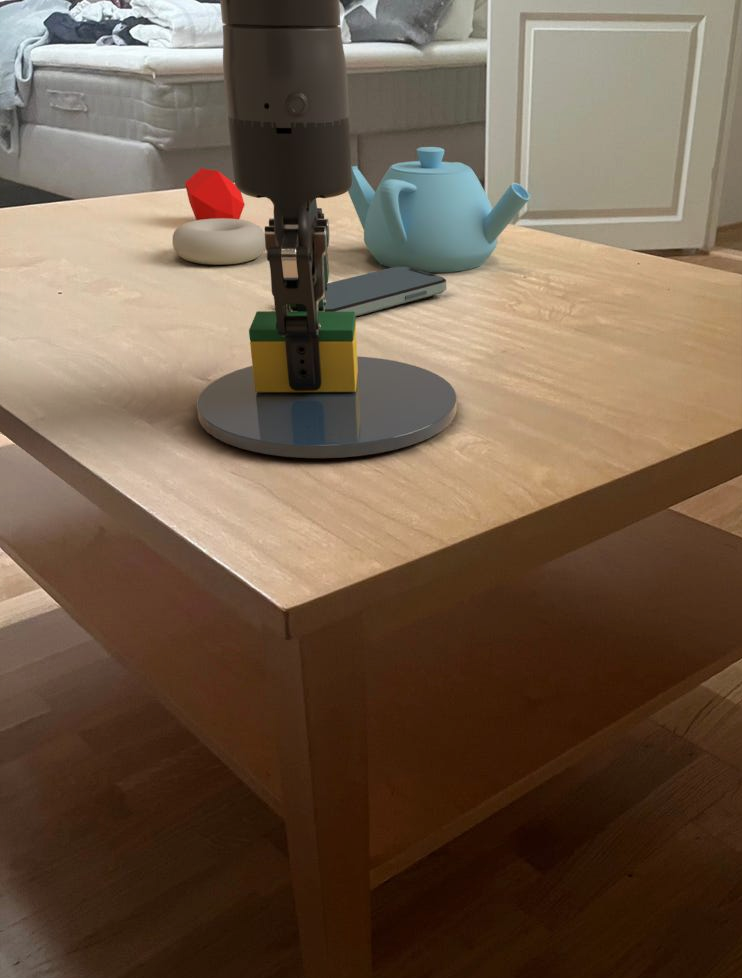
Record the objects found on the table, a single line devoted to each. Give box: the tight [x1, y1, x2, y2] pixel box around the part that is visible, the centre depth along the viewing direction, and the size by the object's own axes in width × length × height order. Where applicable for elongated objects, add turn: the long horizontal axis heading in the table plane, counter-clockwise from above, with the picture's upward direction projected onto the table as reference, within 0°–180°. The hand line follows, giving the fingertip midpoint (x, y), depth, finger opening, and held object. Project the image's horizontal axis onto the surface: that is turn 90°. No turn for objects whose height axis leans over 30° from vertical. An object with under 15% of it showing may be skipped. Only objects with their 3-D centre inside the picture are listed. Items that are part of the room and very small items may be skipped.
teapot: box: [347, 146, 531, 274], centre depth 107 cm, size 15×17×11 cm
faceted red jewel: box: [184, 168, 246, 221], centre depth 123 cm, size 7×7×8 cm
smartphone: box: [289, 266, 447, 318], centre depth 95 cm, size 8×2×15 cm
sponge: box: [248, 310, 358, 392], centre depth 71 cm, size 7×5×4 cm, turn 94°
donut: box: [172, 218, 266, 266], centre depth 108 cm, size 10×4×10 cm
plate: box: [196, 355, 458, 459], centre depth 71 cm, size 18×18×1 cm
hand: (308, 375), depth 72 cm, fingers closed on sponge, 4 cm apart
